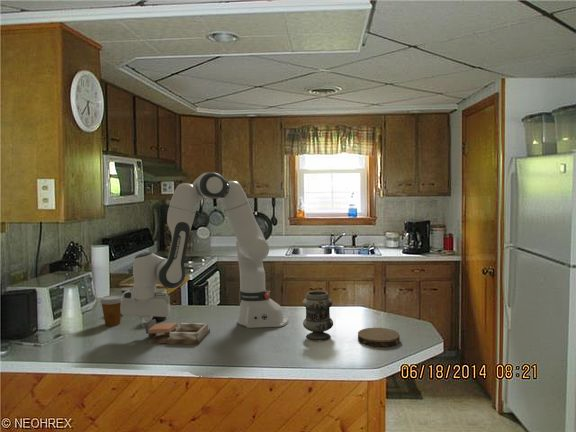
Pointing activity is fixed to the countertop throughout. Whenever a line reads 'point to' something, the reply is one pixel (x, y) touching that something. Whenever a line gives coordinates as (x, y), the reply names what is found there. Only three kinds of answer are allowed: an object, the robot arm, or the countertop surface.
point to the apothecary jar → (317, 315)
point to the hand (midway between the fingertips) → (146, 326)
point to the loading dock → (184, 334)
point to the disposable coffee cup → (111, 309)
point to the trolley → (159, 328)
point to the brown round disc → (378, 337)
